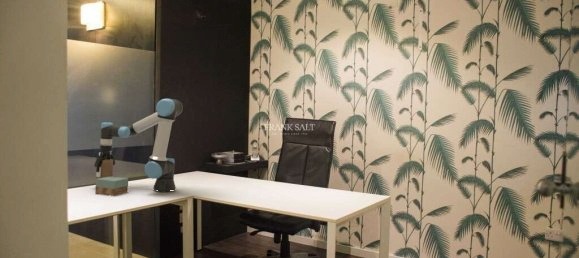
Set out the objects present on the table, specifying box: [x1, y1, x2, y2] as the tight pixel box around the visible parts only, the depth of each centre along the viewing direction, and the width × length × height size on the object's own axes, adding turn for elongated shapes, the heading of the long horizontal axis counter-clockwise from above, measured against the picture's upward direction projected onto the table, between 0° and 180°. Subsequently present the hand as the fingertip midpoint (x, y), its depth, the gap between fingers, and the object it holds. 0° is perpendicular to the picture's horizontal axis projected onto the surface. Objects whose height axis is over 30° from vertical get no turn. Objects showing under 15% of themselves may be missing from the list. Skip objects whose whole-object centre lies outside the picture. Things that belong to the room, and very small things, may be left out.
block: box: [95, 158, 114, 180], centre depth 297 cm, size 10×10×20 cm
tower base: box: [94, 185, 129, 197], centre depth 282 cm, size 14×14×5 cm
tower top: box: [95, 176, 129, 189], centre depth 282 cm, size 14×14×5 cm
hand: (104, 175), depth 297 cm, fingers closed on block, 13 cm apart
